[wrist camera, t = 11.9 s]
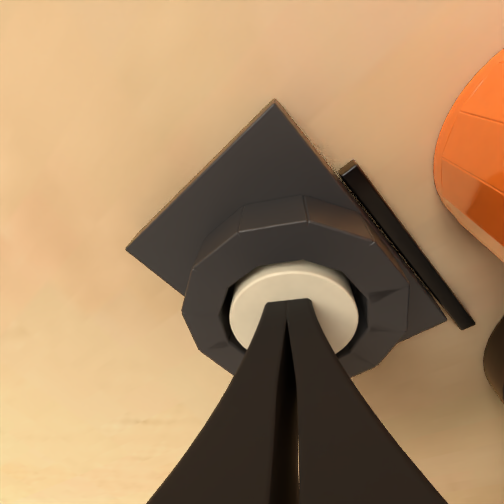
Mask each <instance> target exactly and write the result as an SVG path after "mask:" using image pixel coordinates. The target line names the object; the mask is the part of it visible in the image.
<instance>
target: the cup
mask: <svg viewBox="0 0 504 504" xmlns="http://www.w3.org/2000/svg"><path fill="white" fill-rule="evenodd" d="M433 172H434V180H435V185H436V188H437V192H438V194H439V196H440V198H441V200H442V202H443V204H444V205H445V207H446V208H447V209H448V211H450V212H451V213H452V214H453V215H454V216H455V217H456V219H457V221H458V222H459V223H460V224H461V225H462V226H463V227H464V228H465V229H467V230H468V231H469V232H470V233H471V234H472V235H473V236H474V237H476V238H477V239H478V240H479V241H480V242H481V243H482V244H483V245H484V246H486V247H487V248H488V249H489V250H490V251H491V252H492V253H493V254H495V255H496V256H497V257H498V258H499V259H500V260H501V261H502V262H503V263H504V49H503V50H501V51H500V52H499V53H498V54H496V55H495V56H494V57H493V58H492V59H491V60H490V61H489V62H488V63H487V64H486V65H485V66H484V67H483V68H482V69H481V70H480V71H479V72H478V73H477V74H476V75H475V76H474V77H473V79H472V80H471V81H470V82H469V83H468V84H467V86H466V87H465V88H464V90H463V91H462V93H461V94H460V95H459V97H458V98H457V100H456V101H455V103H454V105H453V106H452V108H451V110H450V112H449V113H448V115H447V117H446V119H445V122H444V124H443V126H442V129H441V131H440V134H439V137H438V141H437V144H436V149H435V155H434V170H433Z"/></svg>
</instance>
